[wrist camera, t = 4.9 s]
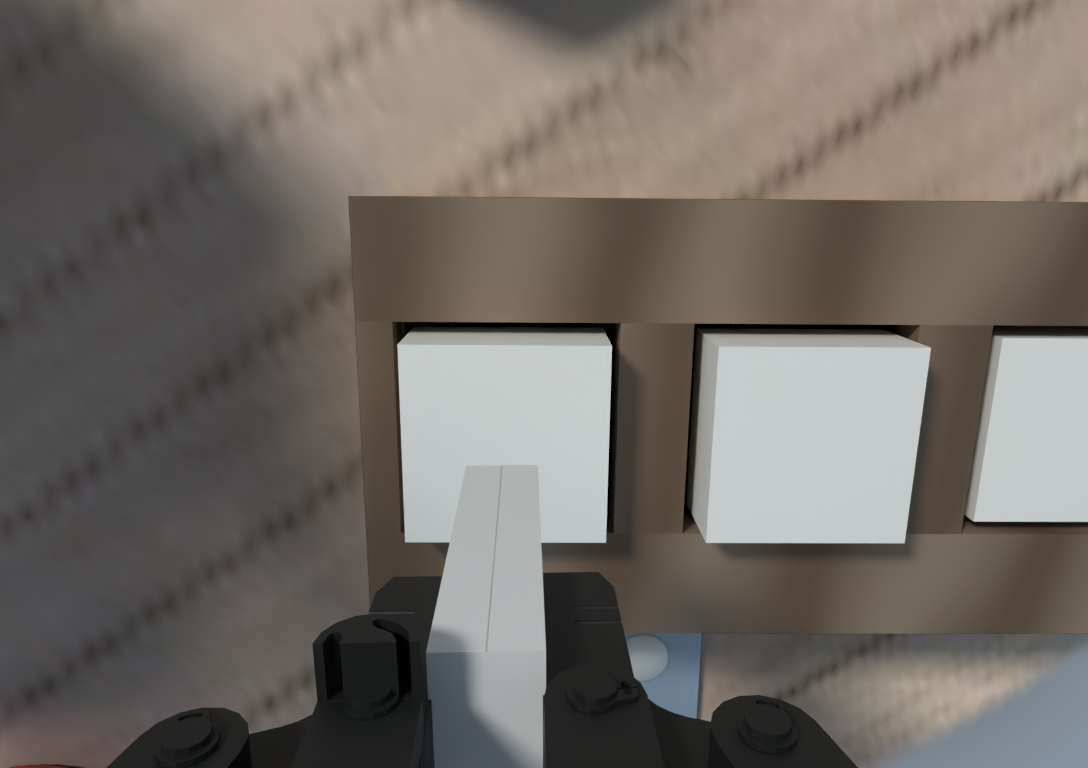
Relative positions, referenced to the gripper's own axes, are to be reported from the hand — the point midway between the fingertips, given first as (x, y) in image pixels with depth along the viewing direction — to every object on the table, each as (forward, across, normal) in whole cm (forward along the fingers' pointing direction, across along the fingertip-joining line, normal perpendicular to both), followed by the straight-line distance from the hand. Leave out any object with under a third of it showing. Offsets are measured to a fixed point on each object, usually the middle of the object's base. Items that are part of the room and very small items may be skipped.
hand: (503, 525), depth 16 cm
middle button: (+9, +9, 0) cm, 13 cm away
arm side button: (+9, 0, 0) cm, 9 cm away
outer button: (+10, +18, -1) cm, 21 cm away
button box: (+14, +9, 0) cm, 17 cm away
